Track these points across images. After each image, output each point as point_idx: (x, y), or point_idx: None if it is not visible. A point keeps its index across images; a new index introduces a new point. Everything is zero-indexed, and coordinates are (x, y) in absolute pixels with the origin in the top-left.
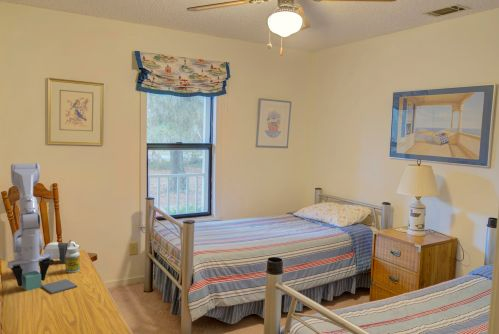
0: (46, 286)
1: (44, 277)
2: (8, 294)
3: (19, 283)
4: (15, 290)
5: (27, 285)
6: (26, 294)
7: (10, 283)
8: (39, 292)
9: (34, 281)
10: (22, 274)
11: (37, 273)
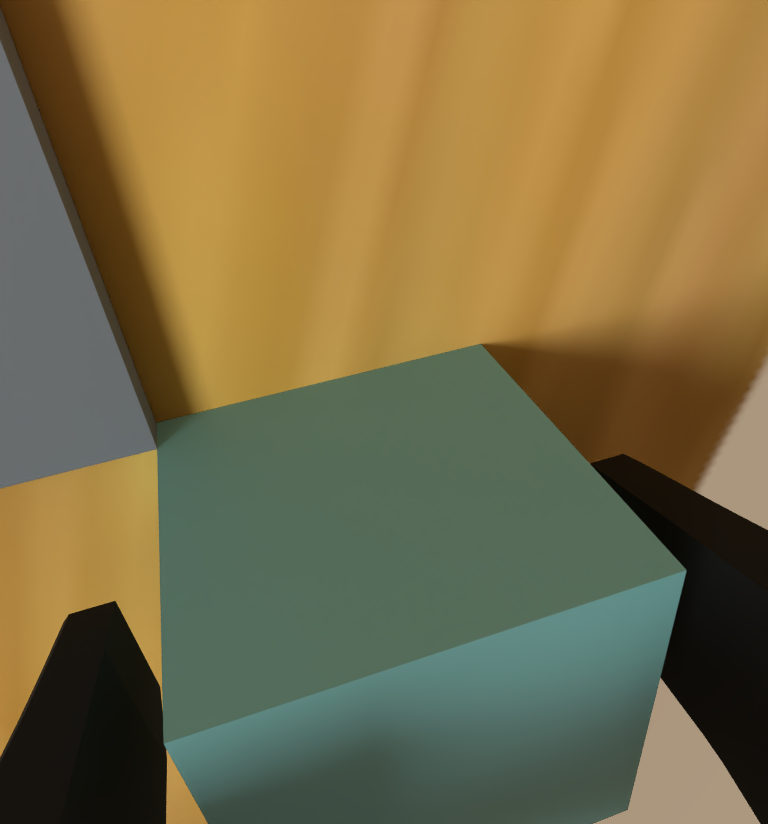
0: (18, 308)
1: (50, 678)
2: (756, 334)
3: (684, 495)
4: None
5: (519, 413)
6: (557, 121)
7: None
8: (254, 48)
9: (365, 501)
10: (622, 785)
11: (279, 802)
